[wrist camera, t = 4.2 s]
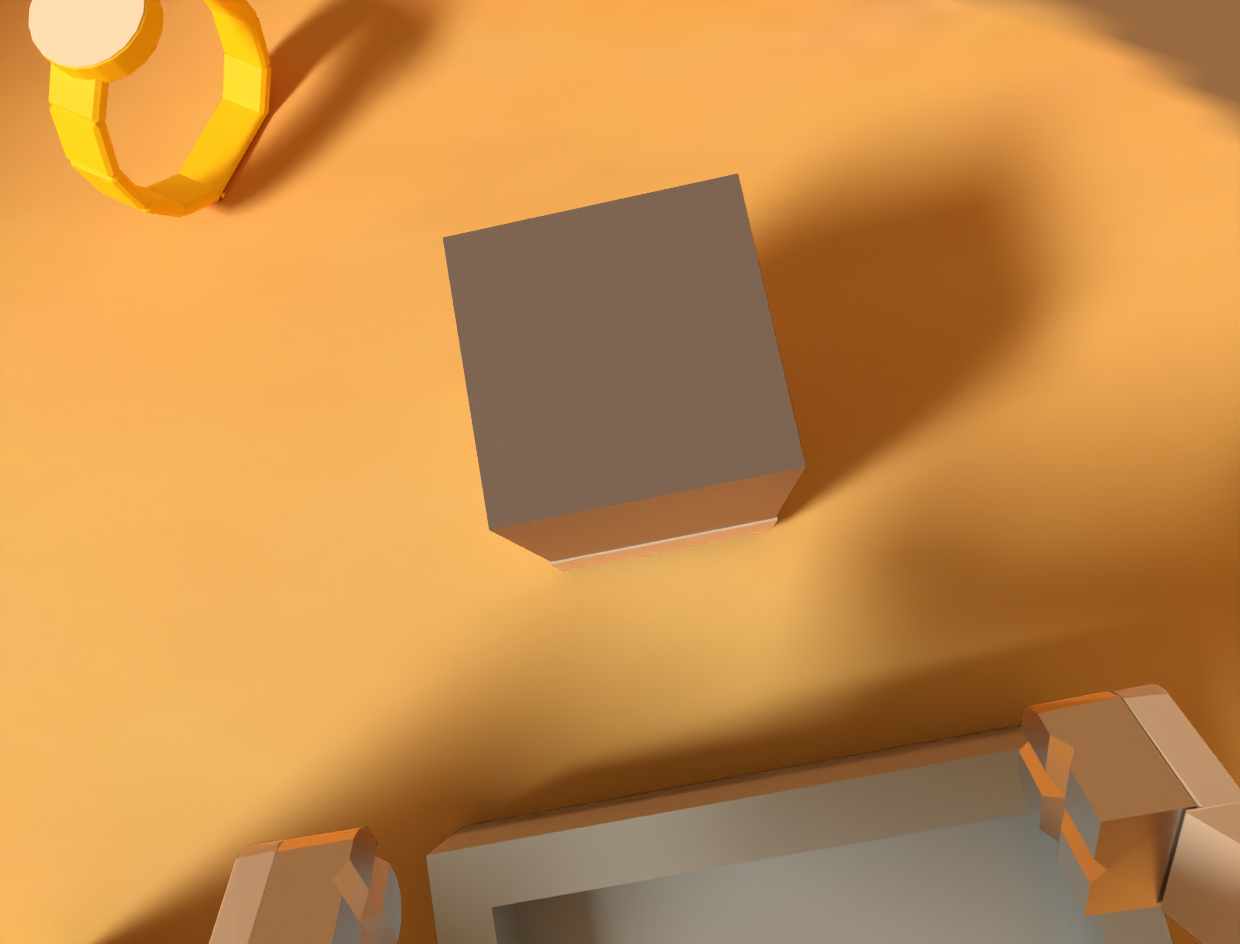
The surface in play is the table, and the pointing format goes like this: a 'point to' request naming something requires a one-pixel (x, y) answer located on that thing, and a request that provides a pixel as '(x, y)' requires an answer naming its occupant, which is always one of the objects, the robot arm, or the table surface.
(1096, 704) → the robot arm
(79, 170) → the watch
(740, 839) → the slate tray
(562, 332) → the block
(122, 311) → the table surface
